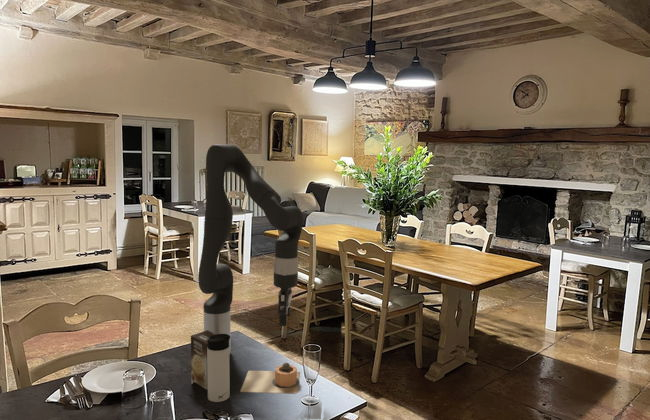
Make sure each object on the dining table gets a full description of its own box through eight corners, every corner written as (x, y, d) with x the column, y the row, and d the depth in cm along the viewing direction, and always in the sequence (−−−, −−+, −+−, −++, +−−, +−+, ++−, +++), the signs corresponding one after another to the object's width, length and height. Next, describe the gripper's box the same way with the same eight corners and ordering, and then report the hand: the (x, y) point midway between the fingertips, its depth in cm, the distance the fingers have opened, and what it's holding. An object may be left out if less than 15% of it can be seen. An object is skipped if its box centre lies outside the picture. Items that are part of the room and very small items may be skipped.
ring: (274, 386, 146) (274, 373, 145) (276, 376, 152) (276, 364, 152) (295, 386, 146) (295, 374, 145) (297, 376, 152) (297, 364, 152)
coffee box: (190, 384, 149) (189, 335, 147) (207, 377, 154) (207, 329, 152) (206, 394, 143) (206, 343, 141) (224, 387, 148) (224, 337, 146)
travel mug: (225, 408, 136) (225, 340, 133) (204, 405, 137) (203, 338, 135) (234, 397, 142) (233, 332, 140) (213, 394, 143) (212, 330, 141)
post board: (240, 396, 142) (240, 371, 142) (248, 374, 156) (248, 352, 155) (297, 398, 142) (297, 373, 141) (300, 376, 156) (301, 353, 155)
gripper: (277, 264, 155) (275, 312, 157) (270, 276, 141) (269, 328, 143) (299, 265, 155) (298, 313, 157) (295, 277, 141) (294, 329, 143)
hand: (284, 320), depth 150 cm, fingers open, 8 cm apart
